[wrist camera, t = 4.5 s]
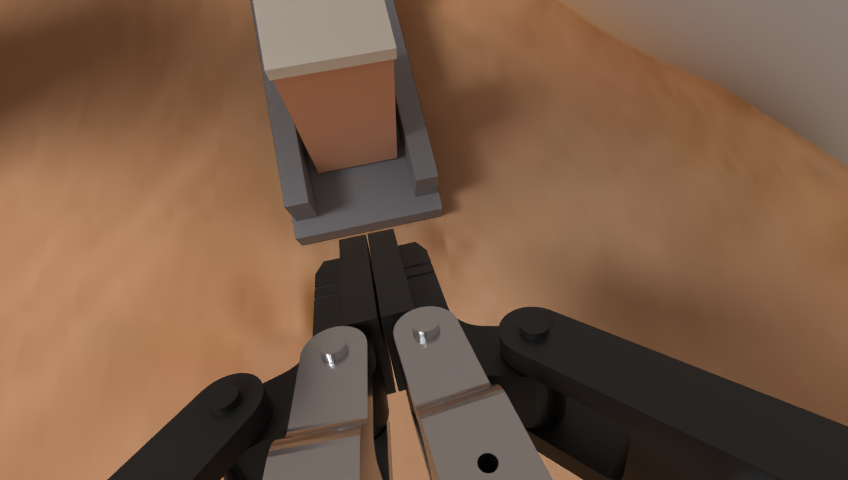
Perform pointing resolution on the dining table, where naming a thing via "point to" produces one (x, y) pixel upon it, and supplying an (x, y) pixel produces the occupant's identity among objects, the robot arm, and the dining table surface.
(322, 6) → the block
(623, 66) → the dining table surface
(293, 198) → the key track
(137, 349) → the dining table surface
